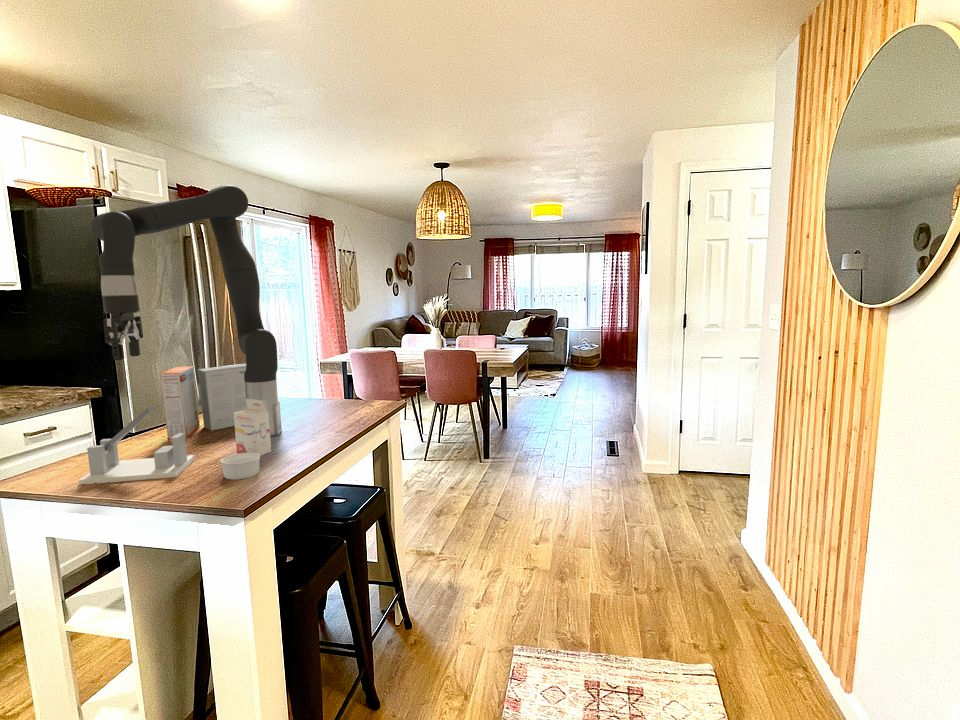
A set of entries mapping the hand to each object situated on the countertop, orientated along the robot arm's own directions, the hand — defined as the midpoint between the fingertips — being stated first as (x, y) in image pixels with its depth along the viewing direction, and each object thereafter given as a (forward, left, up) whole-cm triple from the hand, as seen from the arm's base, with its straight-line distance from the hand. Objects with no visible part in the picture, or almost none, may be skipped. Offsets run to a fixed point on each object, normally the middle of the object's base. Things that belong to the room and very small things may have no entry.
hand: (127, 357), depth 134 cm
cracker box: (-1, -31, -29) cm, 42 cm away
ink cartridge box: (-28, -3, -29) cm, 40 cm away
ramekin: (-29, +15, -29) cm, 43 cm away
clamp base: (-3, +6, -28) cm, 29 cm away
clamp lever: (-1, +6, -19) cm, 19 cm away
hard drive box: (-13, -39, -29) cm, 50 cm away
